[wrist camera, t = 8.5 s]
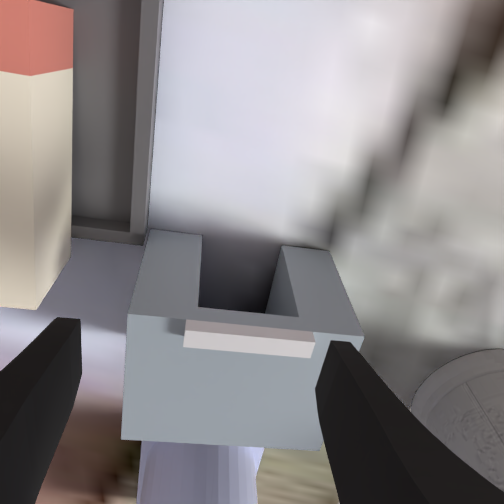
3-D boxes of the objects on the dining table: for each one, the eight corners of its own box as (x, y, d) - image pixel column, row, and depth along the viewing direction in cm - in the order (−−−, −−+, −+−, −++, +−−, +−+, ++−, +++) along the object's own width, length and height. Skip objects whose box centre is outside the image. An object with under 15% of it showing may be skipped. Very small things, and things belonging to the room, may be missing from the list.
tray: (147, 230, 22) (142, 245, 21) (-48, 206, 21) (-65, 221, 19) (174, -150, 15) (170, -163, 13) (-119, -223, 14) (-155, -244, 12)
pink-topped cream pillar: (70, 256, 20) (36, 310, 16) (12, 249, 20) (-39, 303, 16) (73, 9, 16) (28, -2, 12) (0, -5, 16) (-72, -21, 12)
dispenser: (298, 352, 27) (321, 462, 20) (142, 338, 25) (118, 451, 19) (329, 251, 23) (369, 347, 17) (150, 228, 22) (124, 324, 16)
